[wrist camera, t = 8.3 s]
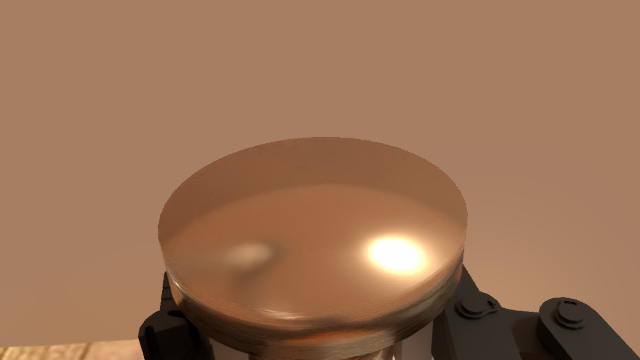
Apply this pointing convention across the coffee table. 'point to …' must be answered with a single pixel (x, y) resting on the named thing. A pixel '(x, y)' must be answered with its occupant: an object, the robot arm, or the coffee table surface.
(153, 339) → the robot arm
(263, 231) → the plunger
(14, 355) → the coffee table surface
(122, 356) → the coffee table surface
